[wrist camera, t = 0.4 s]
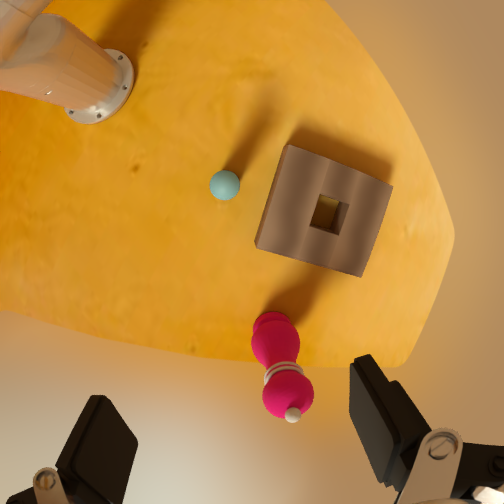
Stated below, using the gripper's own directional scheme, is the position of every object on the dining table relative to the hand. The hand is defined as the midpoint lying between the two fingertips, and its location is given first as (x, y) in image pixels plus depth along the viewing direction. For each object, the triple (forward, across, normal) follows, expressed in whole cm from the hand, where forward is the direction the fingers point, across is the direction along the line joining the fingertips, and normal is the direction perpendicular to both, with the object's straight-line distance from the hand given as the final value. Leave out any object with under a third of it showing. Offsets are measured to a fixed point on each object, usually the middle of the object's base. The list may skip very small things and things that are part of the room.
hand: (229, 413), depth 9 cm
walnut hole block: (+33, -13, -1) cm, 35 cm away
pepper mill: (+33, -3, +16) cm, 37 cm away
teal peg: (+32, -1, -7) cm, 33 cm away
